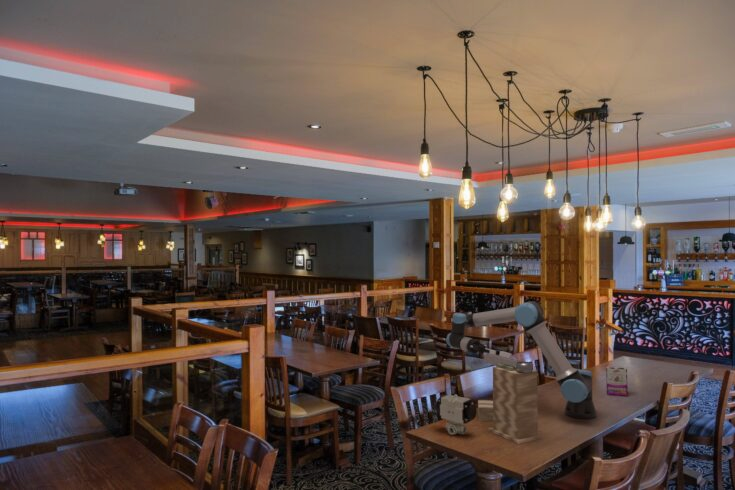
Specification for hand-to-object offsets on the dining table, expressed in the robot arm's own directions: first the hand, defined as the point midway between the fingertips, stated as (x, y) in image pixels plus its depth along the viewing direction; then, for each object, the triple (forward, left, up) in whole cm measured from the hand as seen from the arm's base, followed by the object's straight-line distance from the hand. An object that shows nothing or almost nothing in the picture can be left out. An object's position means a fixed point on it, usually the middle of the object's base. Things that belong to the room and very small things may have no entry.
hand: (503, 355), depth 259 cm
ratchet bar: (-10, +20, -1) cm, 22 cm away
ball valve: (+9, +37, -32) cm, 49 cm away
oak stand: (-14, +22, -31) cm, 41 cm away
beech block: (+6, +5, -31) cm, 32 cm away
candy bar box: (-39, -77, -32) cm, 92 cm away
